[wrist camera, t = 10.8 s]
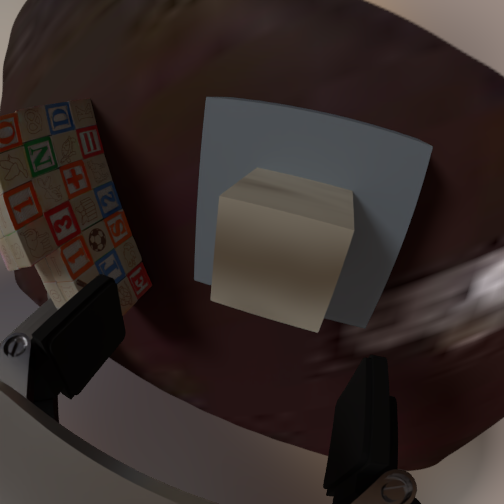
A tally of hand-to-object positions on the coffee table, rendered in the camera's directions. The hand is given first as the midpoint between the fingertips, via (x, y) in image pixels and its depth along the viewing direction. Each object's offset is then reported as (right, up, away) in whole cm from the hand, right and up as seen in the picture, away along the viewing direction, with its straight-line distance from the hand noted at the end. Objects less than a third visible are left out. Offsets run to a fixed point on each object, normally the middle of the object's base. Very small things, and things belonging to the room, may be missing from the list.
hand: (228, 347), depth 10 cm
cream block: (+4, +5, +9) cm, 11 cm away
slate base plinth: (+5, +7, +12) cm, 15 cm away
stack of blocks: (-15, +9, +19) cm, 26 cm away
